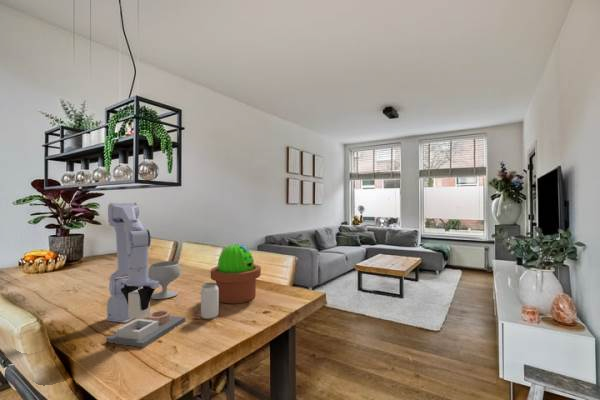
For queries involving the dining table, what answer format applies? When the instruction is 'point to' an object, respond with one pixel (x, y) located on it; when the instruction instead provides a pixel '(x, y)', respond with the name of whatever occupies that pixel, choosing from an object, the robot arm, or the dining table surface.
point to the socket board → (146, 329)
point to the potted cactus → (236, 275)
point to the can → (209, 301)
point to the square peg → (136, 306)
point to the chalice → (164, 277)
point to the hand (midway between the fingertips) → (138, 308)
